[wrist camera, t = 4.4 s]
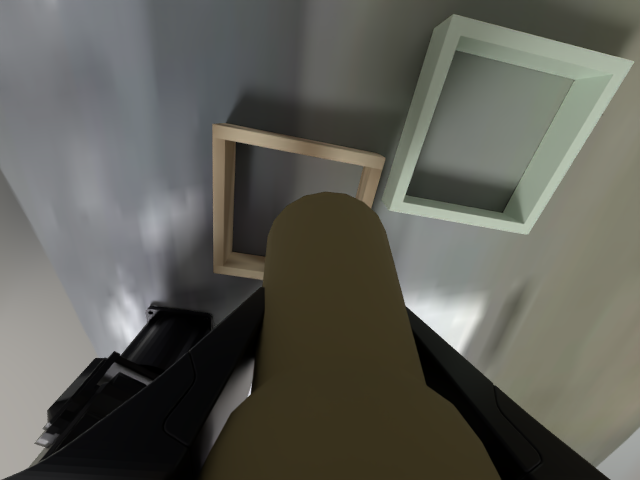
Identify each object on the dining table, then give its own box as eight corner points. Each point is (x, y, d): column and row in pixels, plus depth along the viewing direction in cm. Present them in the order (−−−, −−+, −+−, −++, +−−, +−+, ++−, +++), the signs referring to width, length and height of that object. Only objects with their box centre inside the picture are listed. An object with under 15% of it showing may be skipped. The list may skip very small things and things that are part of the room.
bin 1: (223, 257, 23) (213, 272, 21) (225, 123, 18) (212, 124, 16) (343, 275, 24) (346, 291, 22) (377, 153, 19) (385, 158, 17)
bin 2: (381, 200, 21) (389, 210, 19) (433, 28, 16) (453, 13, 14) (506, 222, 22) (527, 234, 20) (592, 68, 17) (634, 61, 15)
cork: (257, 194, 11) (-183, 789, 1) (392, 188, 11) (979, 762, 1) (275, 299, 14) (173, 748, 4) (382, 295, 14) (545, 738, 4)
